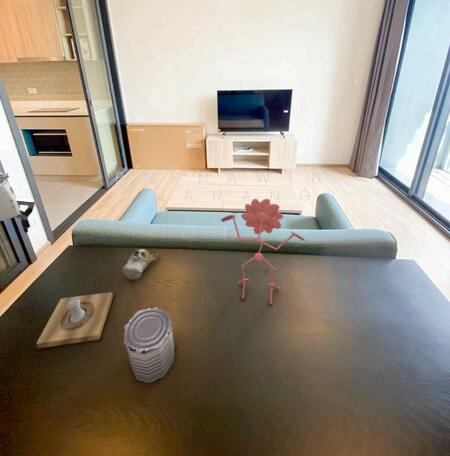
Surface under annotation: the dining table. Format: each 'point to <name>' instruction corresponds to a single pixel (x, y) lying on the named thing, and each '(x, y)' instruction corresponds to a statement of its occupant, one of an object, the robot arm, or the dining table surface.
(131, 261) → the ceramic sculpture
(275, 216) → the figurine
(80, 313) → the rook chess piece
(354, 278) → the dining table surface
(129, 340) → the can
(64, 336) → the wooden board with hole
